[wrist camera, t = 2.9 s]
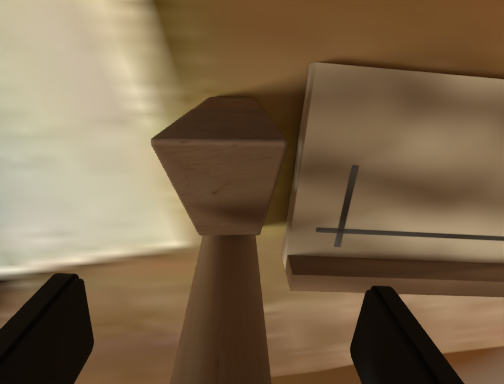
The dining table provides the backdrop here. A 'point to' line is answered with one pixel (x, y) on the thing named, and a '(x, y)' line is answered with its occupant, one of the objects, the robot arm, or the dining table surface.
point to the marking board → (398, 183)
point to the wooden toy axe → (223, 234)
